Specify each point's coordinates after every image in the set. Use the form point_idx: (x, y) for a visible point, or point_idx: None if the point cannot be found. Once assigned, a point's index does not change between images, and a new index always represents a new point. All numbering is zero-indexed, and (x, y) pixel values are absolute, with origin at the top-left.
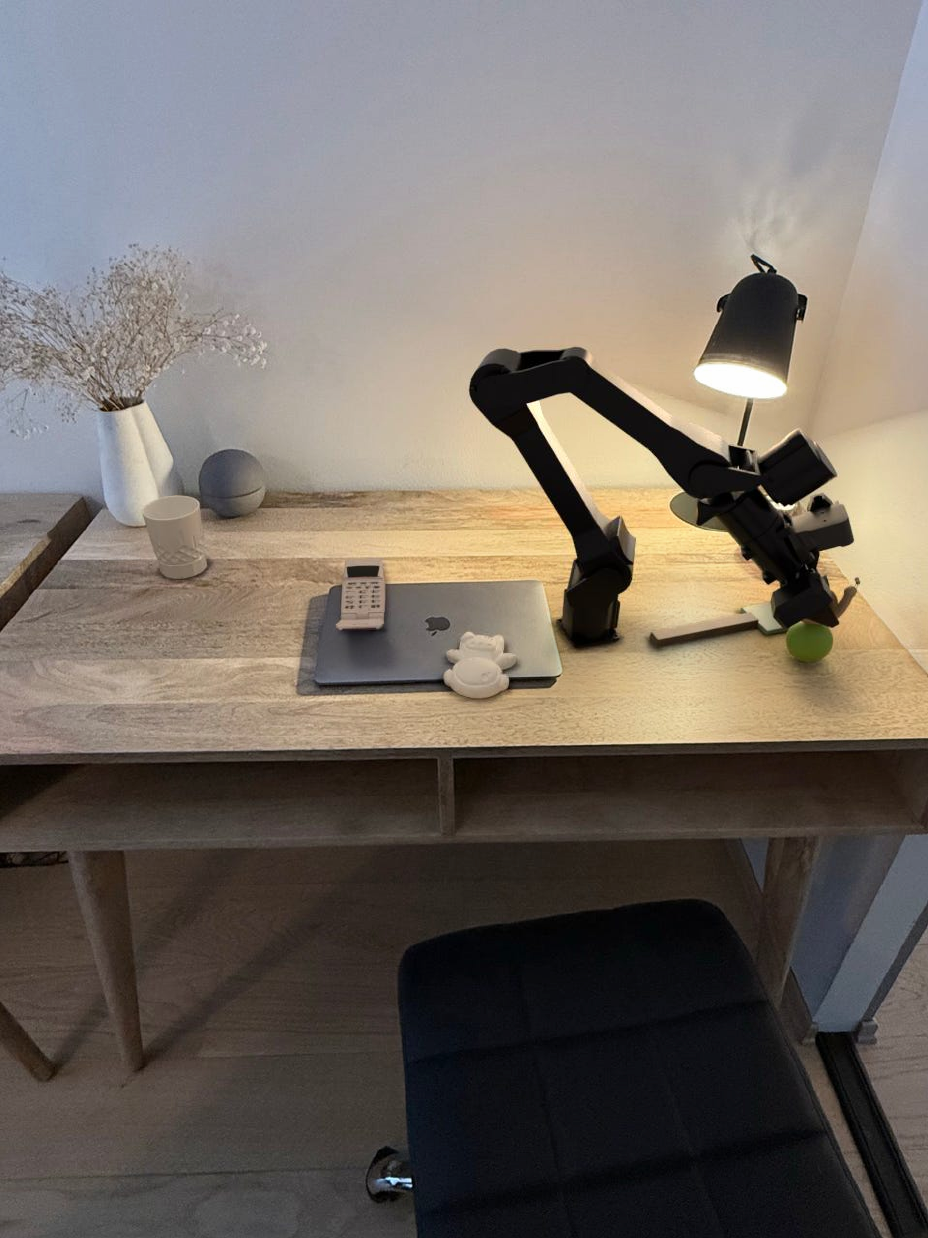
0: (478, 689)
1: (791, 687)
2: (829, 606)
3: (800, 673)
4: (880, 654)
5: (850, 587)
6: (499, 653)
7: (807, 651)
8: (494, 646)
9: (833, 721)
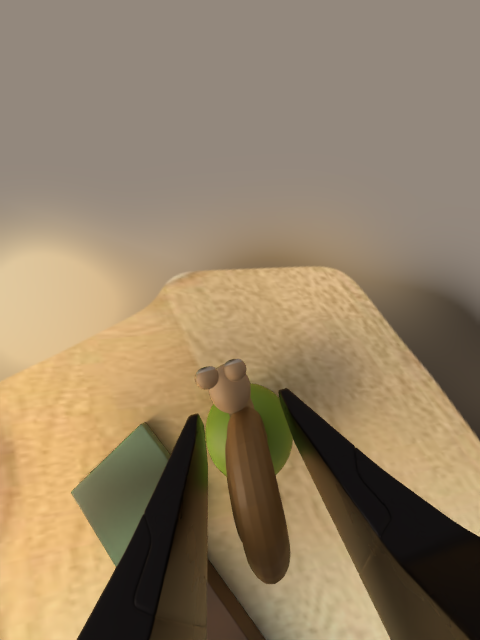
0: None
1: (337, 426)
2: (361, 452)
3: None
4: (188, 314)
5: (236, 394)
6: None
7: None
8: None
9: (380, 356)
